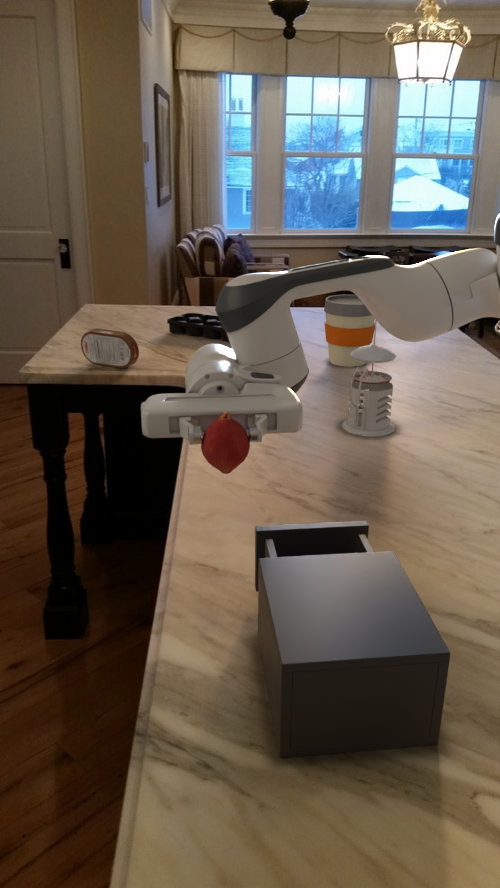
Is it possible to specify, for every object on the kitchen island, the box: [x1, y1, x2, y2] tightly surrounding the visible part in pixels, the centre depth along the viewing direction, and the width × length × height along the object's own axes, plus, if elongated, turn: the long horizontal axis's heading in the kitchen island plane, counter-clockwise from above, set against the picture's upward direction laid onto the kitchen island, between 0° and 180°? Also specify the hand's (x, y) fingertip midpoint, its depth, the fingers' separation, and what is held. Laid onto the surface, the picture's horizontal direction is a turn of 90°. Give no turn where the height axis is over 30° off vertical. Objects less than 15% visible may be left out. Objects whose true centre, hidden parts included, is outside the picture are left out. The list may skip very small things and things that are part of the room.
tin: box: [80, 327, 140, 369], centre depth 165 cm, size 15×3×8 cm, turn 65°
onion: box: [200, 412, 251, 475], centre depth 84 cm, size 6×6×8 cm
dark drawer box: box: [257, 550, 451, 759], centre depth 65 cm, size 16×14×10 cm
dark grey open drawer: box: [254, 520, 375, 593], centre depth 74 cm, size 16×13×8 cm
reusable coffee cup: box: [323, 294, 375, 368], centre depth 168 cm, size 13×13×15 cm
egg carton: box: [166, 312, 230, 342], centre depth 195 cm, size 18×30×4 cm, turn 72°
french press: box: [341, 319, 397, 437], centre depth 125 cm, size 10×12×25 cm
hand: (226, 437), depth 83 cm, fingers closed on onion, 6 cm apart
